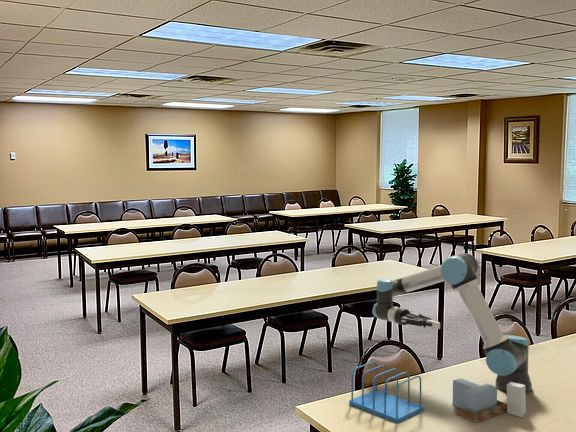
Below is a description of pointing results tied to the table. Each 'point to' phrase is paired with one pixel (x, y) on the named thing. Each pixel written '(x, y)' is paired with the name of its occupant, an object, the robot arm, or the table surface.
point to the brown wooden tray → (482, 415)
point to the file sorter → (386, 398)
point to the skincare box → (516, 399)
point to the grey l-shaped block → (474, 396)
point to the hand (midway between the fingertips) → (438, 325)
